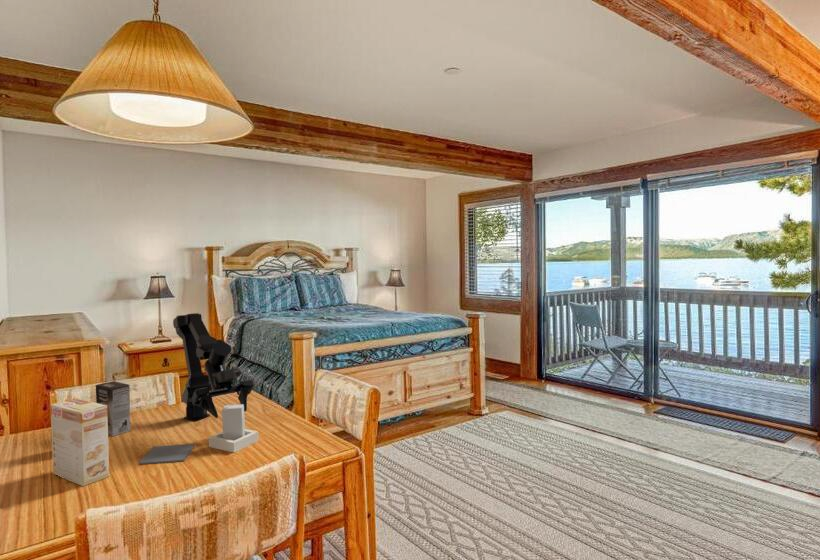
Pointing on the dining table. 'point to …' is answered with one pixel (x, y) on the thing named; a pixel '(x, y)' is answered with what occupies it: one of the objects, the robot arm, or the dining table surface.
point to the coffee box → (115, 405)
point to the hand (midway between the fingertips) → (231, 414)
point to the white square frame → (230, 445)
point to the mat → (167, 454)
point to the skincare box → (233, 421)
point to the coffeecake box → (80, 441)
